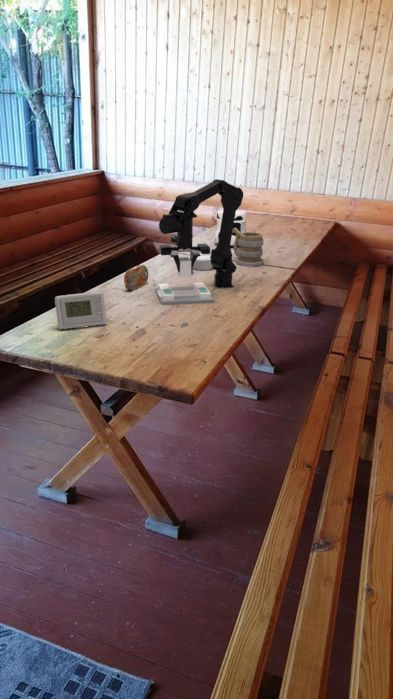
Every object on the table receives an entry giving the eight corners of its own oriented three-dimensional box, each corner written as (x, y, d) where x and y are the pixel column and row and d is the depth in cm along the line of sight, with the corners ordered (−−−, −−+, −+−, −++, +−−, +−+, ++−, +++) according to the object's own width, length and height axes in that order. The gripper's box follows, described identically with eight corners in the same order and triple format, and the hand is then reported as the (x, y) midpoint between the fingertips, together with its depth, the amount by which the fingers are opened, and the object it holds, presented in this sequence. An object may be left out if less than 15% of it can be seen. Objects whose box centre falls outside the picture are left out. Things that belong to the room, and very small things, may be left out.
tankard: (268, 264, 261) (270, 233, 255) (247, 268, 254) (249, 235, 248) (241, 255, 276) (243, 225, 270) (221, 258, 269) (223, 228, 263)
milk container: (212, 241, 303) (213, 208, 296) (242, 241, 305) (244, 208, 298) (216, 249, 288) (217, 214, 281) (248, 248, 290) (251, 214, 282)
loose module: (187, 272, 213) (188, 257, 211) (190, 276, 208) (191, 260, 205) (177, 272, 212) (177, 257, 210) (180, 277, 207) (180, 261, 204)
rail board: (203, 288, 223) (204, 280, 222) (214, 302, 207) (214, 294, 206) (155, 290, 219) (155, 282, 218) (161, 304, 203) (161, 296, 202)
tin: (129, 292, 216) (129, 272, 212) (123, 291, 217) (122, 270, 214) (149, 283, 228) (148, 263, 225) (142, 282, 229) (142, 262, 226)
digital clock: (56, 331, 177) (54, 300, 172) (57, 321, 185) (55, 291, 181) (107, 329, 180) (106, 298, 176) (106, 319, 188) (104, 289, 184)
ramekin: (209, 264, 259) (209, 253, 257) (217, 270, 249) (218, 259, 247) (186, 265, 255) (187, 254, 253) (194, 272, 246) (194, 260, 244)
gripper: (204, 226, 212) (203, 265, 218) (156, 226, 209) (157, 266, 215) (211, 231, 202) (209, 272, 209) (161, 232, 199) (161, 274, 205)
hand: (184, 271), depth 209 cm, fingers closed on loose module, 4 cm apart
